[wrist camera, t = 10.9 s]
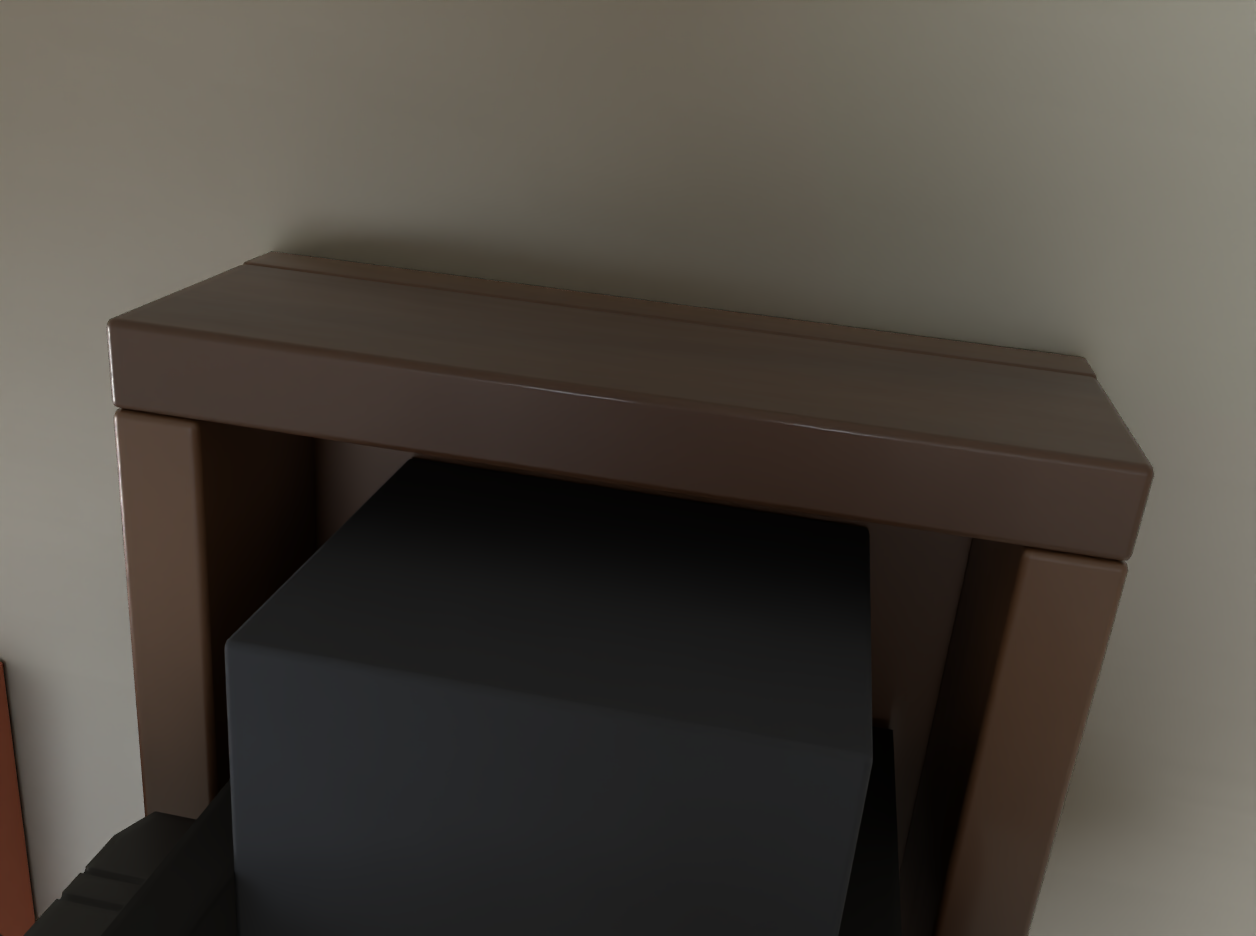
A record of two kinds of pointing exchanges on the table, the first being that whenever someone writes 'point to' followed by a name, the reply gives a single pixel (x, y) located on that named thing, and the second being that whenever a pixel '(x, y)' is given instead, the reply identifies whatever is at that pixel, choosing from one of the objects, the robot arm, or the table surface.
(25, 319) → the table surface
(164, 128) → the table surface
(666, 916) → the dark gray rectangular block
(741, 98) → the table surface
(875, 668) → the frame
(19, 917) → the reddish brown rectangular block
